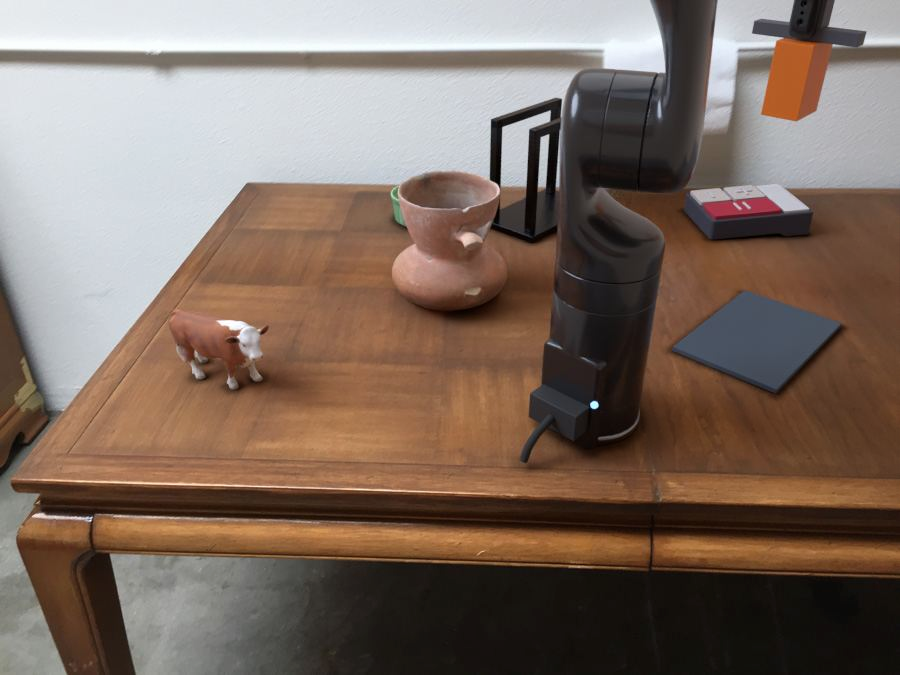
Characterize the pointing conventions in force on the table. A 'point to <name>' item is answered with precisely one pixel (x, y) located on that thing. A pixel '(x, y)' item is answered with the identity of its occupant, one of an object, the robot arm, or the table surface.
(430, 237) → the ceramic jug
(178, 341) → the bull figurine
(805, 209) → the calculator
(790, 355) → the mat
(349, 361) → the table surface
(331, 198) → the table surface
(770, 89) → the orange block with crossbar
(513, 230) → the rack
